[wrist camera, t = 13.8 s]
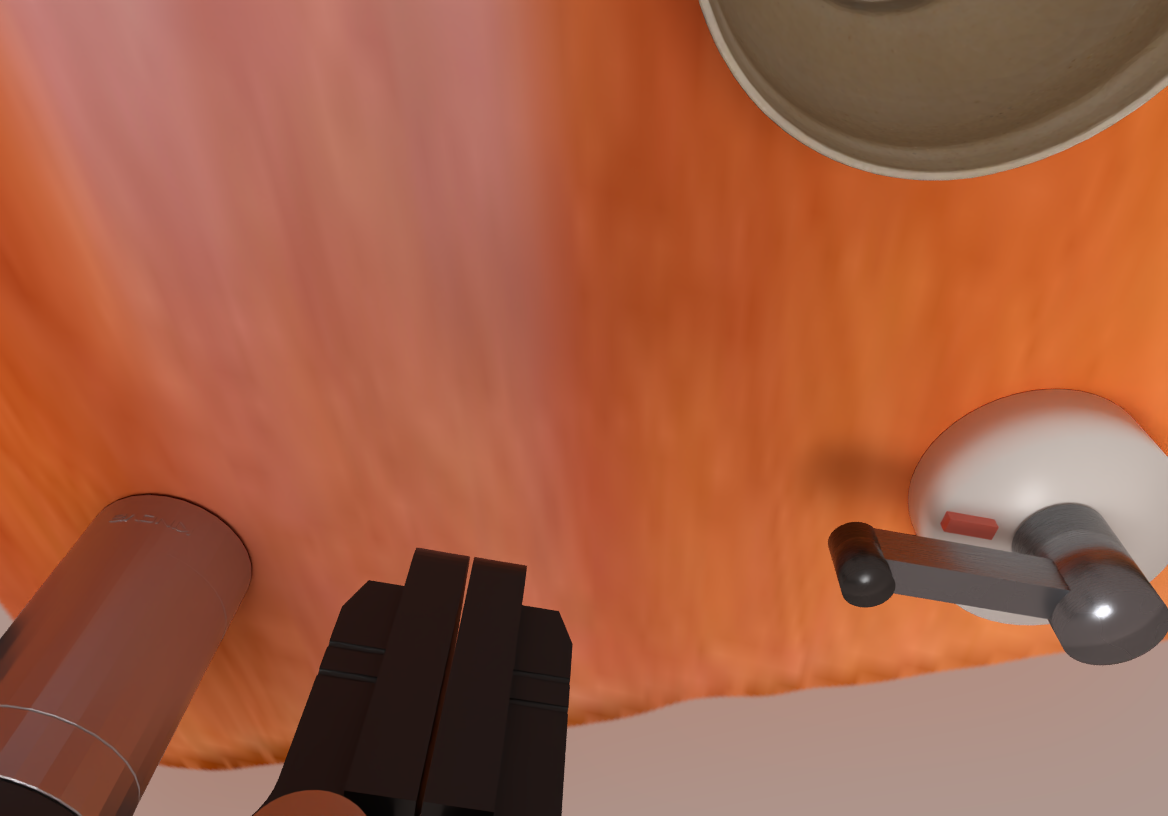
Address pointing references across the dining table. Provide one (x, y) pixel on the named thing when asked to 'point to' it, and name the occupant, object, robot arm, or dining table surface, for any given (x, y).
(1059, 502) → the stand
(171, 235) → the dining table surface
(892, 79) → the planter bowl
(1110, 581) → the capstan lever
